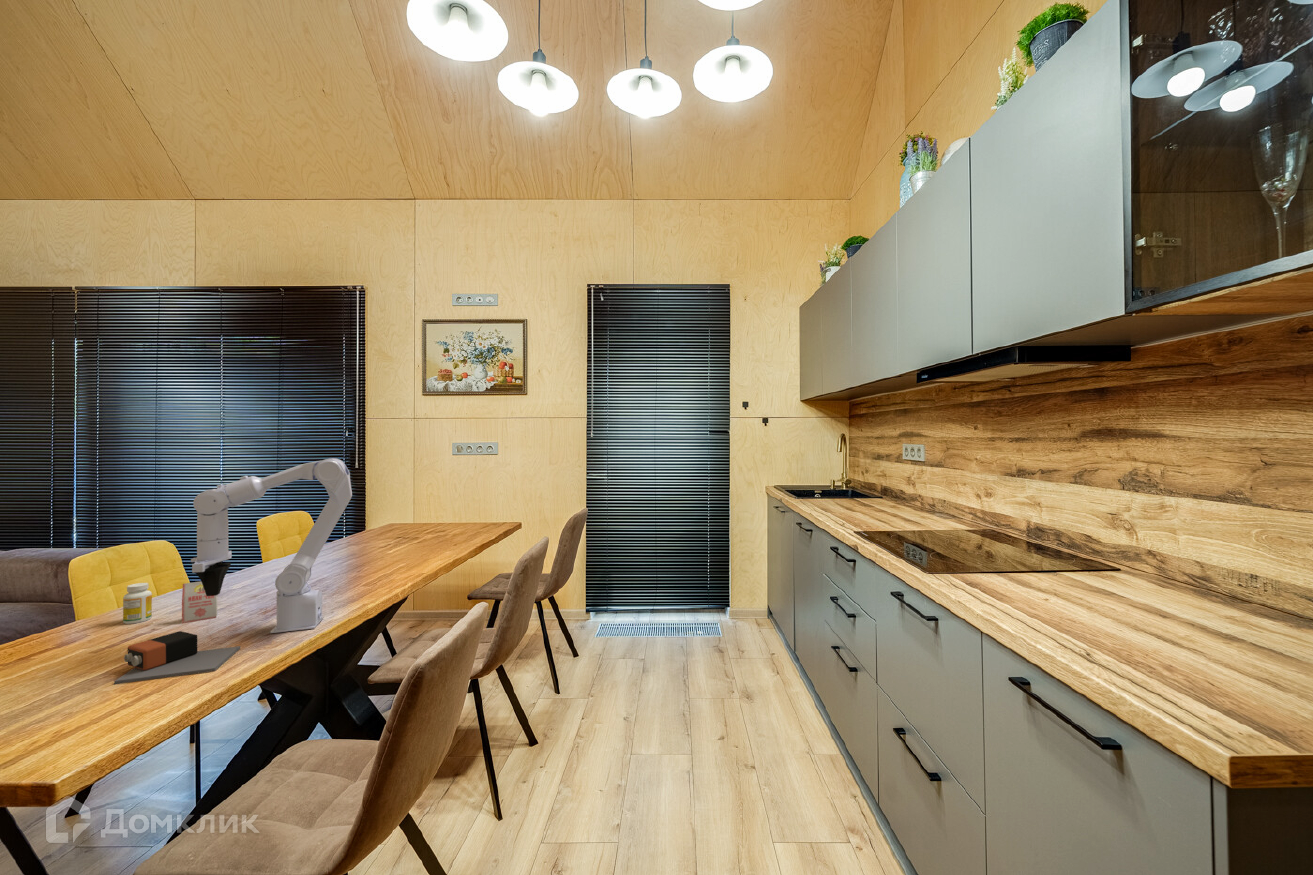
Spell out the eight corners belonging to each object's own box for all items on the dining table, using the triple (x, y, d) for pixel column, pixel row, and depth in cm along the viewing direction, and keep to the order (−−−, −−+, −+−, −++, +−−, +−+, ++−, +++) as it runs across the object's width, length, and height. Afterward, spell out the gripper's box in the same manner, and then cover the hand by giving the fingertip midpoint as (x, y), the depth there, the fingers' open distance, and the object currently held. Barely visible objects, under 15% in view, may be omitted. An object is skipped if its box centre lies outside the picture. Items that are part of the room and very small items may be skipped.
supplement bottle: (130, 625, 131) (130, 588, 131) (118, 623, 133) (118, 586, 133) (156, 618, 136) (156, 582, 136) (144, 616, 138) (144, 581, 138)
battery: (198, 653, 112) (138, 673, 102) (180, 649, 114) (120, 668, 105) (198, 634, 112) (138, 651, 102) (180, 630, 114) (120, 647, 105)
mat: (240, 648, 116) (240, 646, 116) (214, 671, 105) (214, 668, 105) (151, 659, 110) (151, 656, 110) (114, 684, 99) (114, 681, 99)
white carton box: (183, 619, 135) (183, 582, 135) (217, 614, 139) (217, 578, 139) (181, 623, 132) (181, 585, 132) (216, 618, 136) (215, 581, 136)
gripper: (207, 534, 128) (207, 588, 128) (175, 546, 114) (175, 606, 114) (241, 532, 130) (241, 585, 130) (213, 543, 116) (214, 602, 116)
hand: (213, 595), depth 122 cm, fingers closed
